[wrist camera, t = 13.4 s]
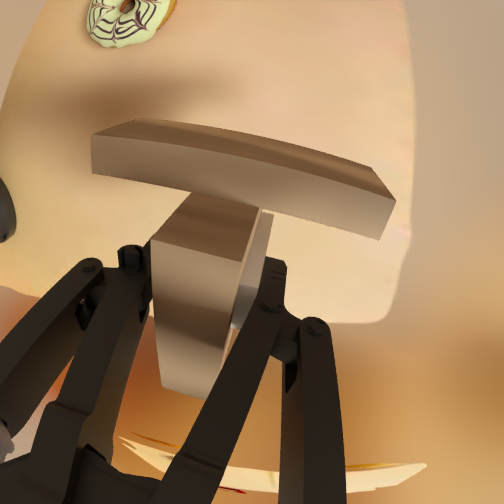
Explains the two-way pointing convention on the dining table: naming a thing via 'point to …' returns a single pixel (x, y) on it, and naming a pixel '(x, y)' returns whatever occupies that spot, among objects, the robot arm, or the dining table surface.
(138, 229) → the dining table surface
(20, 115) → the dining table surface
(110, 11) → the decorated donut
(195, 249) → the pusher
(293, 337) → the robot arm
